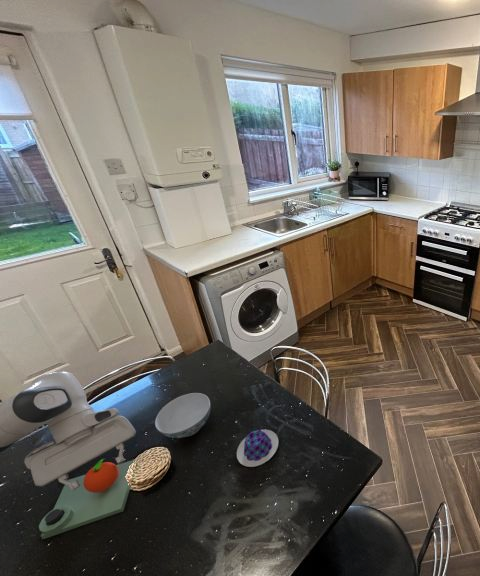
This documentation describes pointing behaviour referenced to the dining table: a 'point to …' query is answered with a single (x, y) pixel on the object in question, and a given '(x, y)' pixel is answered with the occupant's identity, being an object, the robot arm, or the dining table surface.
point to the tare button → (54, 516)
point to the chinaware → (183, 415)
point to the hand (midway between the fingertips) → (99, 475)
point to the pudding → (257, 448)
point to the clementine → (101, 477)
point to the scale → (88, 504)
